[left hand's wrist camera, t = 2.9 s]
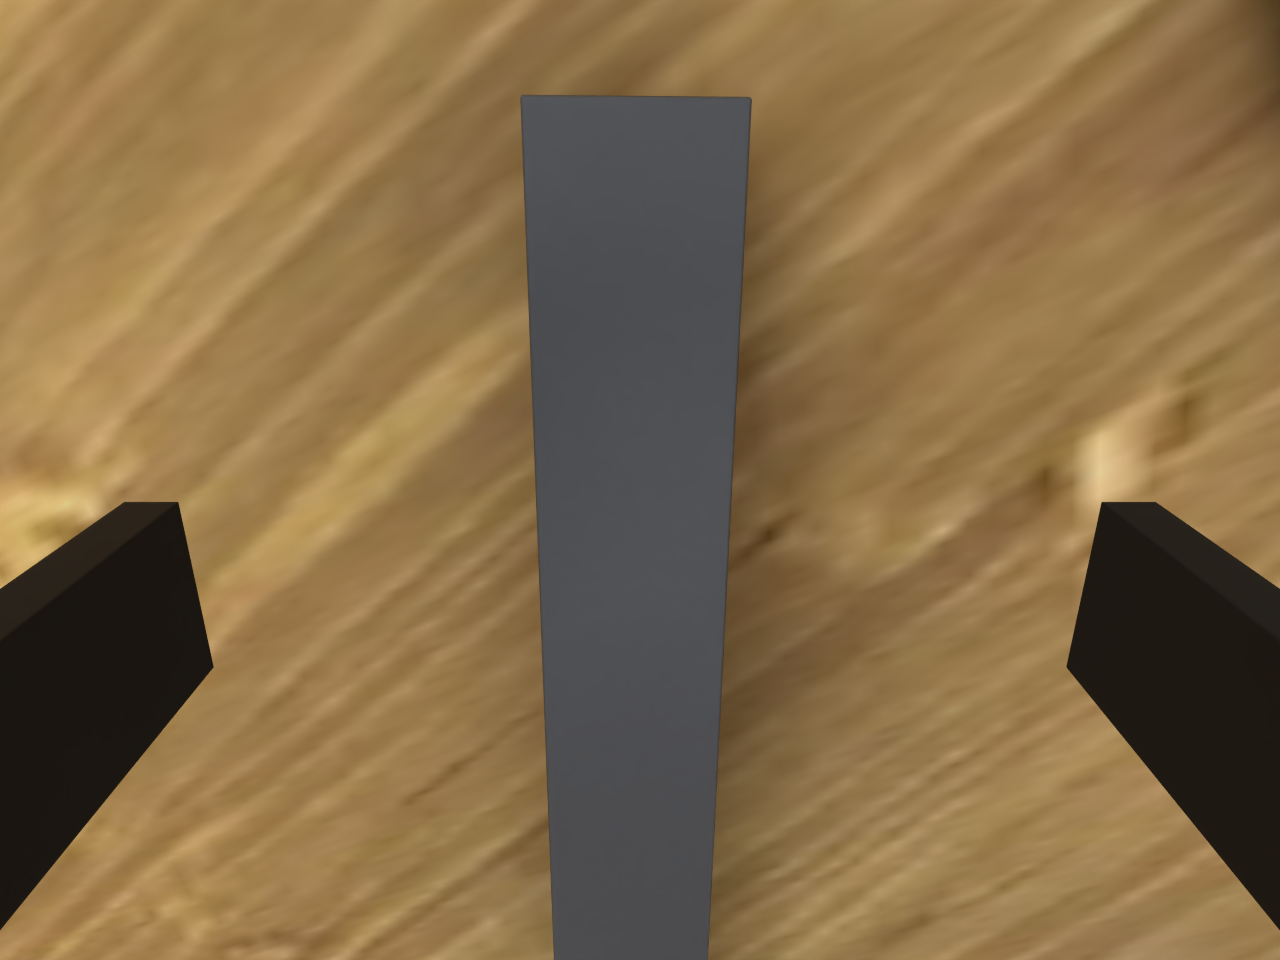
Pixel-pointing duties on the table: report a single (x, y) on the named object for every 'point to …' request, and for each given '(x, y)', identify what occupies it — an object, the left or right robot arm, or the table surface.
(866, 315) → the table surface
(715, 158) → the bar
